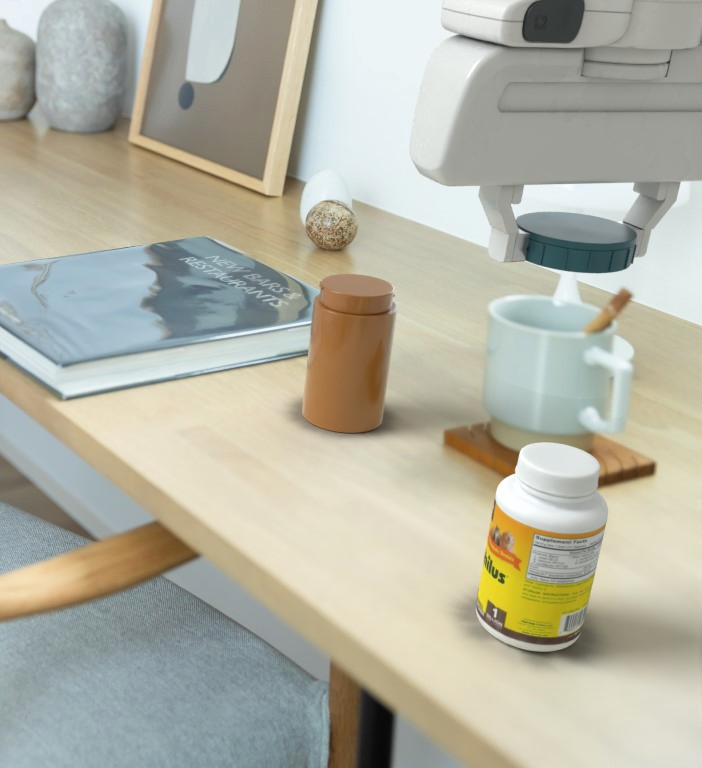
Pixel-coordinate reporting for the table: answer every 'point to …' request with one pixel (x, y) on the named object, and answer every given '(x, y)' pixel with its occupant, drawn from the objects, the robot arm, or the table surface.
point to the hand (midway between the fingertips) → (565, 257)
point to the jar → (349, 353)
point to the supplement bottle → (542, 548)
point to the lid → (578, 242)
